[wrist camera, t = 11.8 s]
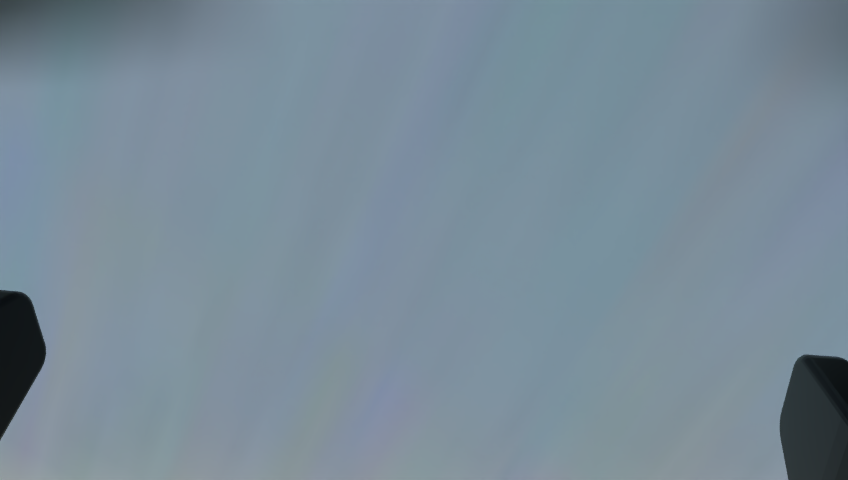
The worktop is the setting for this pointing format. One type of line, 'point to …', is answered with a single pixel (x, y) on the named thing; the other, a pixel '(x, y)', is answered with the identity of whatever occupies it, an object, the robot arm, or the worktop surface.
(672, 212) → the worktop surface
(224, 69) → the worktop surface
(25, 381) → the robot arm
